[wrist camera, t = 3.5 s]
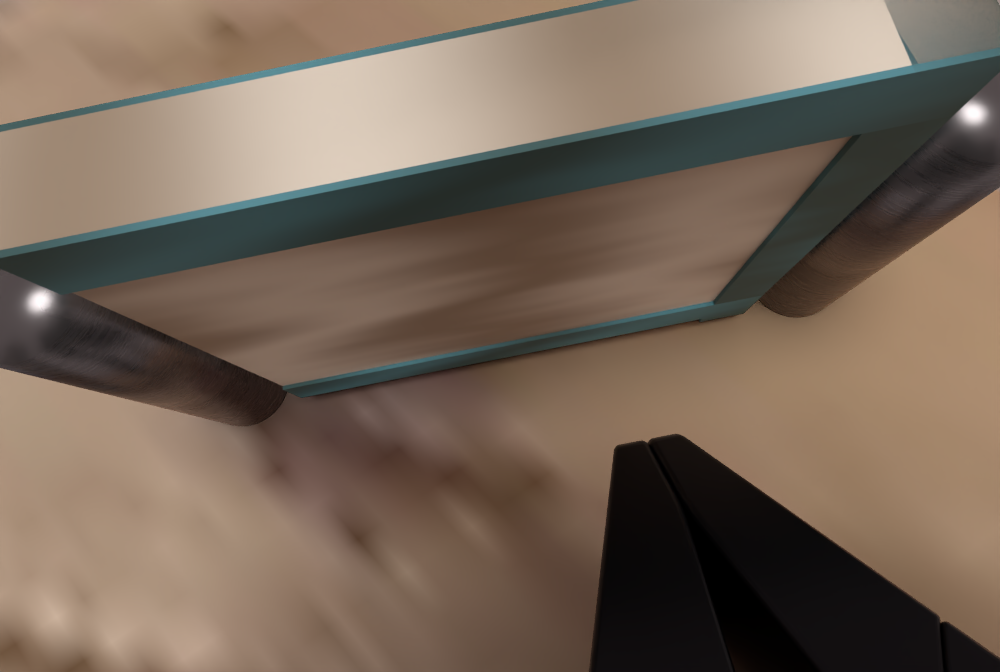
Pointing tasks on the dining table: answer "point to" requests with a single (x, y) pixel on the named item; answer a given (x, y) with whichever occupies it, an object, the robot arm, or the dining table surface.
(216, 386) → the gate posts
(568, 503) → the dining table surface
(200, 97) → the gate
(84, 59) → the dining table surface
